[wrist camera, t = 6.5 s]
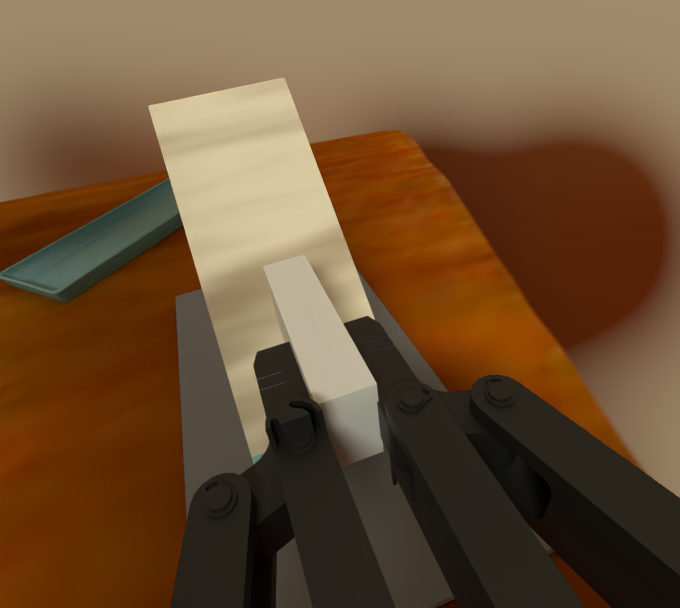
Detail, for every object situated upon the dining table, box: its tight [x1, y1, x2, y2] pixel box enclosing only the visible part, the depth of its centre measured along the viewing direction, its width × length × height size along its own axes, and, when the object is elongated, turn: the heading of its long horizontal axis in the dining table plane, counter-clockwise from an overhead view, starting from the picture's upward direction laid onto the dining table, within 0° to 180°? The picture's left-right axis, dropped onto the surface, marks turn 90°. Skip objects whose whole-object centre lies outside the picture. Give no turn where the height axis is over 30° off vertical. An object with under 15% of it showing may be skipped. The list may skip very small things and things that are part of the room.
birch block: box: [148, 78, 375, 464], centre depth 20 cm, size 6×6×16 cm
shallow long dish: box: [0, 178, 183, 302], centre depth 46 cm, size 26×9×2 cm, turn 153°
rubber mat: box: [175, 269, 554, 608], centre depth 25 cm, size 26×14×1 cm, turn 19°
